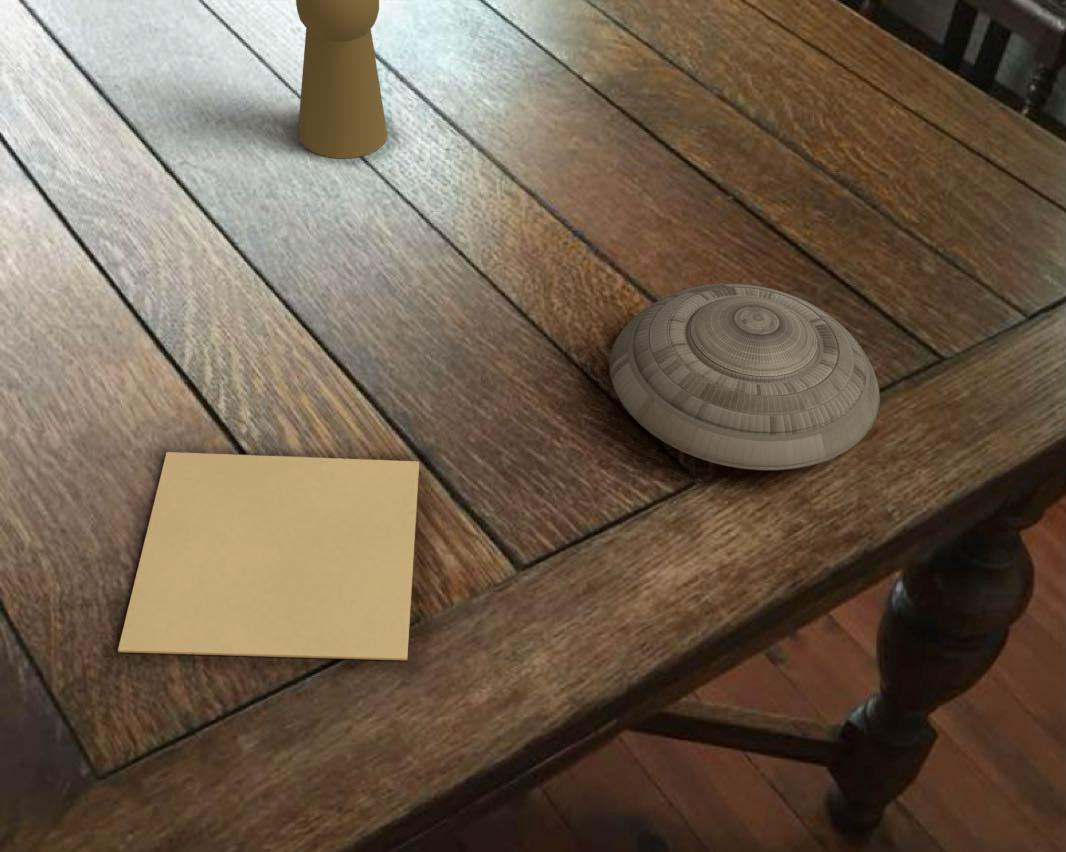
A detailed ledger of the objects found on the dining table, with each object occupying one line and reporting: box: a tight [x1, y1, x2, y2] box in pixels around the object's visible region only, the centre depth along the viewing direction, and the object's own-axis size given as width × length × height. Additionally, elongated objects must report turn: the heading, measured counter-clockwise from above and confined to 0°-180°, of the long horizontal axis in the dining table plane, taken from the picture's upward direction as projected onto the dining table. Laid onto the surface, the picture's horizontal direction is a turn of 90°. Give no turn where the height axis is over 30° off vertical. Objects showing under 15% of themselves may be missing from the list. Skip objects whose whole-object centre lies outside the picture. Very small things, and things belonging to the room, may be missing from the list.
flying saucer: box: [609, 283, 881, 471], centre depth 74 cm, size 15×15×6 cm
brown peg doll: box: [295, 0, 388, 159], centre depth 88 cm, size 6×6×11 cm
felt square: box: [117, 451, 420, 661], centre depth 66 cm, size 13×13×1 cm
